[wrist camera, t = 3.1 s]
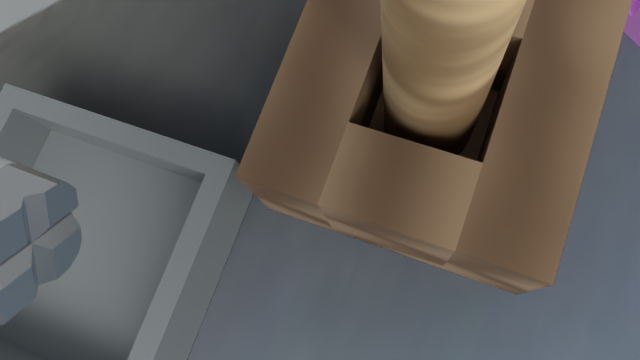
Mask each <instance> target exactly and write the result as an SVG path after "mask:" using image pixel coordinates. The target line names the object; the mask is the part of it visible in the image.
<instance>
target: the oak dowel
mask: <svg viewBox="0 0 640 360" xmlns="http://www.w3.org/2000/svg"><path fill="white" fill-rule="evenodd" d="M526 1H527V0H380V10H381V38H382V65H383V93H384V121H385V133H386V134H390V135H393V136H396V137H400V138H403V139H406V140H409V141H413V142H416V143H419V144H423V145H426V146H429V147H432V148H436V149H439V150H442V151H446V152H449V153H452V154H455V155H459V154H460V153H461V152H462V151H463V150H464V149H465V147H466V145H467V144H468V141H469V139H470V137H471V134H472V132H473V129H474V127H475V124H476V122H477V120H478V117H479V115H480V112H481V110H482V107H483V105H484V103H485V100H486V98H487V95H488V93H489V90H490V88H491V86H492V83H493V81H494V78H495V76H496V74H497V71H498V69H499V66H500V64H501V61H502V59H503V57H504V54H505V52H506V49H507V47H508V44H509V42H510V40H511V37H512V35H513V32H514V30H515V27H516V25H517V23H518V20H519V18H520V15H521V13H522V10H523V8H524V6H525V3H526Z"/></svg>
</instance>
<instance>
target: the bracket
mask: <svg viewBox="0 0 640 360" xmlns="http://www.w3.org/2000/svg"><path fill="white" fill-rule="evenodd" d="M624 32H625V33H626V34H627V35H628V36H629V37H630V38H631V39H632V40H633V41H634V42H635V43H636V44H637V45H638V47H639V48H640V0H632V3H631V7H630V10H629V14H628V17H627V21H626V25H625V28H624Z"/></svg>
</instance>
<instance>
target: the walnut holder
mask: <svg viewBox="0 0 640 360" xmlns="http://www.w3.org/2000/svg"><path fill="white" fill-rule="evenodd" d="M631 3H632V0H527V1H526V3H525V6H524V8H523V10H522V13H521V15H520V18H519V20H518V23H517V25H516V27H515V30H514V32H513V35H512V37H511V40H510V42H509V44H508V47H507V49H506V52H505V54H504V57H503V59H502V61H501V64H500V66H499V69H498V71H497V74H496V76H495V78H494V81H493V83H492V86H491V88H490V90H489V93H488V95H487V98H486V100H485V103H484V105H483V107H482V110H481V112H480V115H479V117H478V120H477V122H476V124H475V127H474V129H473V132H472V134H471V137H470V139H469V141H468V144H467V145H466V147H465V149H464V150H463V151H462V152H461V153H460V154H459V155H455V154H452V153H449V152H446V151H442V150H439V149H436V148H432V147H429V146H426V145H423V144H419V143H416V142H413V141H409V140H406V139H403V138H400V137H396V136H393V135H390V134H386V133H385V121H384V93H383V65H382V38H381V10H380V0H307V2H306V4H305V7H304V9H303V11H302V14H301V16H300V19H299V21H298V24H297V26H296V28H295V31H294V33H293V36H292V38H291V41H290V43H289V46H288V48H287V50H286V53H285V55H284V58H283V60H282V63H281V65H280V68H279V70H278V72H277V75H276V77H275V80H274V82H273V85H272V87H271V90H270V92H269V94H268V97H267V99H266V102H265V104H264V107H263V109H262V111H261V114H260V116H259V119H258V121H257V124H256V126H255V129H254V131H253V133H252V136H251V138H250V141H249V143H248V146H247V148H246V151H245V153H244V155H243V158H242V160H241V163H240V165H239V168H238V170H237V173H236V175H235V177H236V178H237V179H238V180H239V181H240V182H241V183H242V184H244V185H245V186H246V187H247V188H248V189H249V190H250V191H251V192H252V193H253V194H254V195H255V196H256V197H257V198H258V199H260V200H261V201H262V202H263V203H264V204H265V205H266V206H267V207H268V208H270V209H272V210H275V211H278V212H281V213H284V214H287V215H290V216H293V217H295V218H298V219H301V220H304V221H307V222H310V223H313V224H316V225H318V226H321V227H324V228H327V229H330V230H333V231H336V232H339V233H341V234H344V235H347V236H350V237H353V238H356V239H359V240H361V241H364V242H367V243H370V244H373V245H376V246H379V247H382V248H384V249H387V250H390V251H393V252H396V253H399V254H402V255H405V256H407V257H410V258H413V259H416V260H419V261H422V262H425V263H428V264H430V265H433V266H436V267H439V268H442V269H445V270H448V271H450V272H453V273H456V274H459V275H462V276H465V277H468V278H471V279H473V280H476V281H479V282H482V283H485V284H488V285H491V286H494V287H496V288H499V289H502V290H505V291H508V292H511V293H514V294H520V293H524V292H527V291H531V290H535V289H539V288H543V287H547V286H550V285H554V281H555V277H556V274H557V270H558V267H559V263H560V259H561V256H562V252H563V249H564V245H565V241H566V238H567V234H568V230H569V227H570V223H571V220H572V216H573V212H574V209H575V205H576V202H577V198H578V194H579V191H580V187H581V184H582V180H583V176H584V173H585V169H586V165H587V162H588V158H589V155H590V151H591V147H592V144H593V140H594V137H595V133H596V129H597V126H598V122H599V119H600V115H601V111H602V108H603V104H604V100H605V97H606V93H607V90H608V86H609V82H610V79H611V75H612V72H613V68H614V64H615V61H616V57H617V53H618V50H619V46H620V43H621V39H622V35H623V32H624V28H625V25H626V21H627V17H628V14H629V10H630V7H631Z"/></svg>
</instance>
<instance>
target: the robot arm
mask: <svg viewBox="0 0 640 360" xmlns="http://www.w3.org/2000/svg"><path fill="white" fill-rule="evenodd" d="M78 206H79V204H78V198H77V191H76V188H75V187H73V186H72V185H70V184H69V183H67V182H65V181H62V180H60V179H57V178H55V177H52V176H50V175H47V174H45V173H42V172H40V171H37V170H35V169H32V168H29V167H27V166H24V165H22V164H19V163H18V164H17V163H15V162H12V161H10V160H7V159H5V158H2V157H0V324H1V325H4V324H5V323H7V322H8V321H9V320H10V319H11V318H13V317H14V316H15V315H16V314H17V313H18V312H20V311H21V310H22V309H23V308H24V307H25V306H27V305H28V304H29V303H30V302H31V301H32V300H34V299H35V298H36V296H37V291H38V286H39V285H40V284H44V283H47V282H50V281H54V280H57V279H58V278H59V277H60V276H61V275H63V274H64V273H65V272H66V271H67V270H68V269H69V268H70V267H71V265H72V263H73V262H74V260H75V258H76V257H77V255H78V253H79V250H80V246H81V241H82V235H81V227H80V225H79V223H78V222H77V220H76V219H75V217H74V216H73V214H72V212H73V211H74V210H75V209H76V208H77V207H78Z"/></svg>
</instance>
